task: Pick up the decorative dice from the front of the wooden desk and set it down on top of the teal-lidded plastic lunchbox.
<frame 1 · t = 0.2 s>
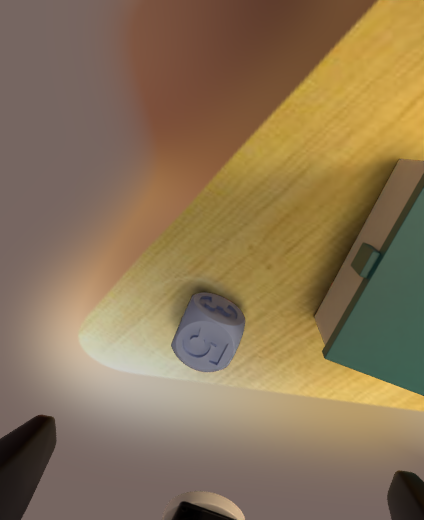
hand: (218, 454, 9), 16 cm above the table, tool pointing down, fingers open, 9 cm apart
decorative dice: (211, 316, 26), on the table
lunchbox: (413, 268, 23), on the table
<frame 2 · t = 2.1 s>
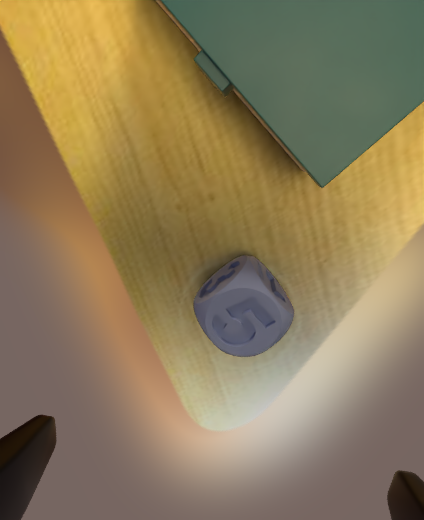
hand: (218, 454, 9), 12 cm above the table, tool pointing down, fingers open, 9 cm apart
decorative dice: (243, 289, 21), on the table
lunchbox: (296, 7, 16), on the table
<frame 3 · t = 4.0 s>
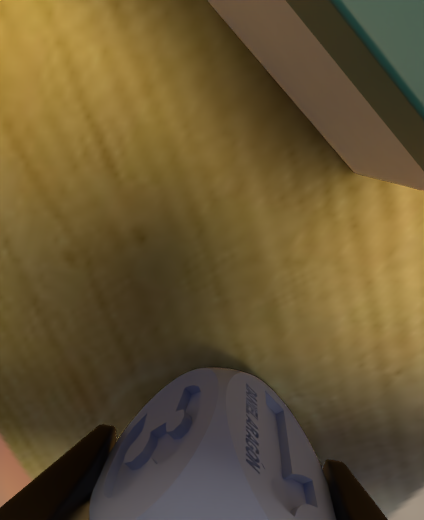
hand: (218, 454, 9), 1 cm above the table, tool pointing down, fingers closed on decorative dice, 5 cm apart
decorative dice: (220, 419, 10), on the table, touching gripper
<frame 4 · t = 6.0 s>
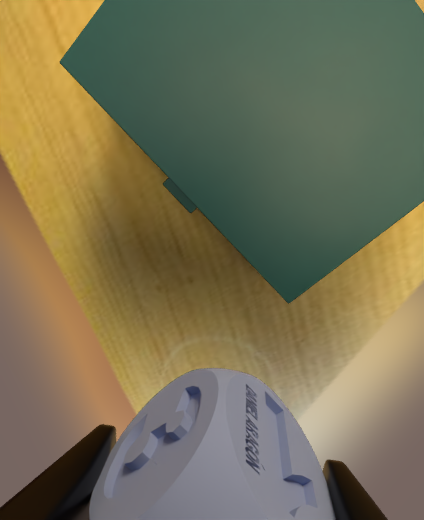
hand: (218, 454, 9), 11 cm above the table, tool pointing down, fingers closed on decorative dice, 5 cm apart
decorative dice: (220, 419, 10), point 10 cm above the table, touching gripper
lunchbox: (269, 111, 16), on the table
when the fingers open (6 cm above the table, at t = 8.4 s): decorative dice stays where it is, resting on lunchbox.
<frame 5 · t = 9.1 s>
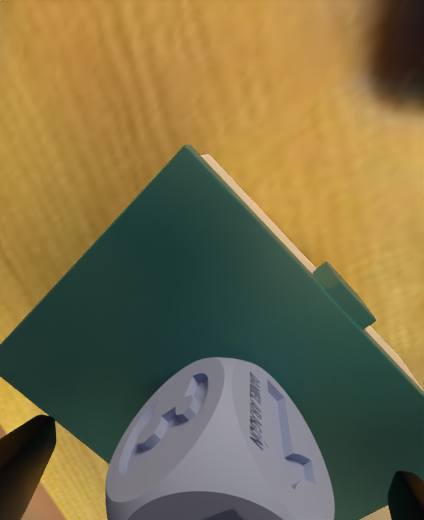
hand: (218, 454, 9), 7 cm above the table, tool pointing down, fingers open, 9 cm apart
decorative dice: (225, 407, 11), point 5 cm above the table, touching lunchbox
lunchbox: (231, 327, 15), on the table
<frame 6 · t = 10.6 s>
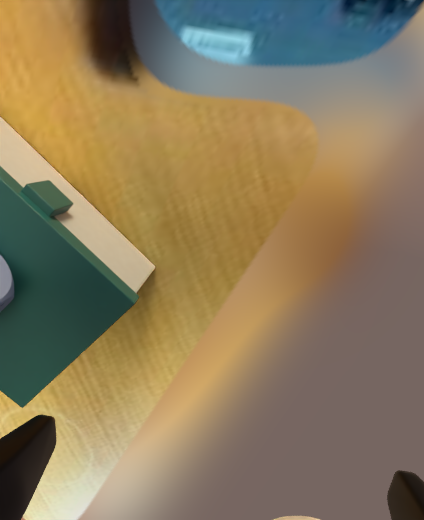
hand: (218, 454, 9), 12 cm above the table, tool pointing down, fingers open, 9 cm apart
lunchbox: (35, 244, 21), on the table
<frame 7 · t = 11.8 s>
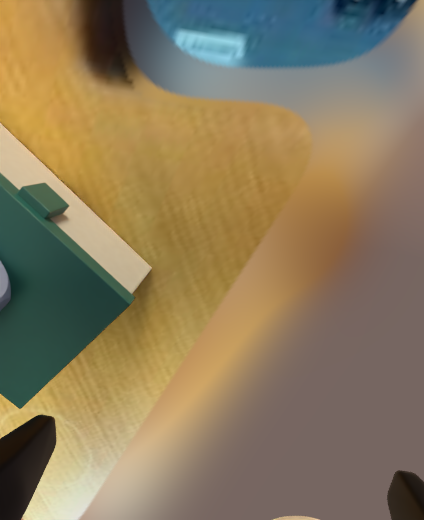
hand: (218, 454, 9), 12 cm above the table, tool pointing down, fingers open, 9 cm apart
lunchbox: (33, 246, 21), on the table
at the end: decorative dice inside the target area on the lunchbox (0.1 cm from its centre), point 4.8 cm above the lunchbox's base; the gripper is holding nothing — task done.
